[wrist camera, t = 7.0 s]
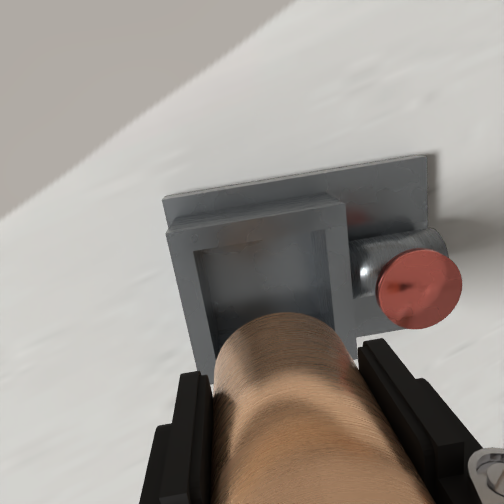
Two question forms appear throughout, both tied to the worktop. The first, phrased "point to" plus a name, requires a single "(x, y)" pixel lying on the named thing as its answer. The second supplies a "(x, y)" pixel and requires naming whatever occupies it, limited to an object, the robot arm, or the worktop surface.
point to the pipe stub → (301, 422)
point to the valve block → (311, 254)
